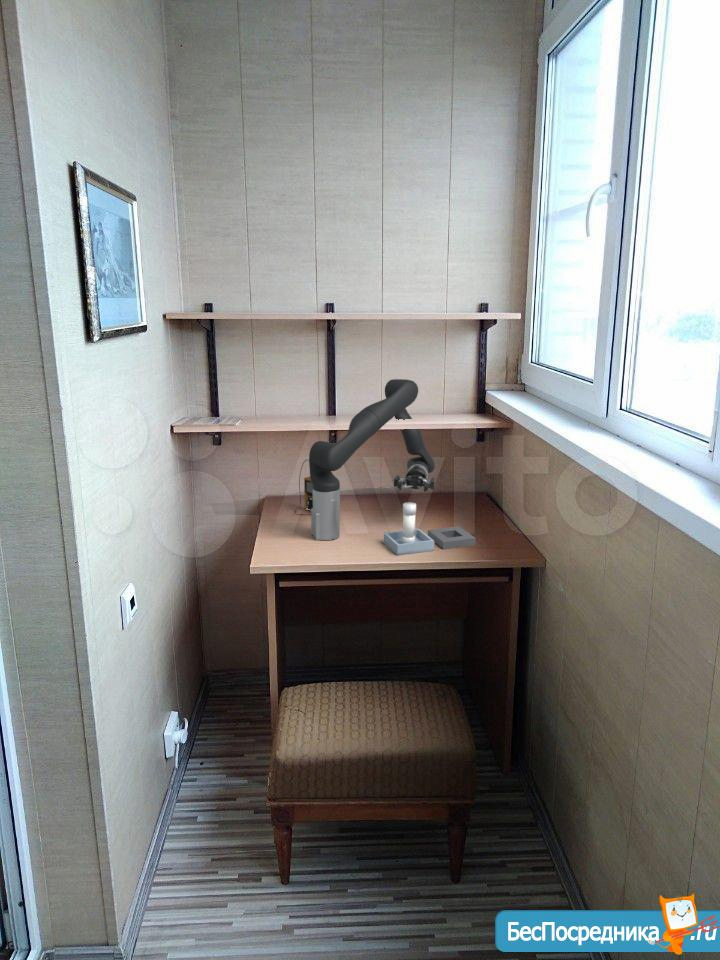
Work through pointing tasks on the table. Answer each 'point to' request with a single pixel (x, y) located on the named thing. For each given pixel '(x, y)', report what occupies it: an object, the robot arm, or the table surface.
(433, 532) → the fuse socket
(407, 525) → the fuse
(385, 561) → the table surface
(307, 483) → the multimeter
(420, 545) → the parts tray
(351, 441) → the robot arm
